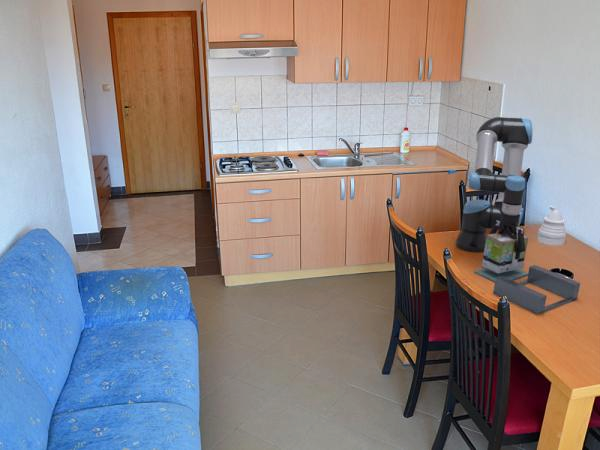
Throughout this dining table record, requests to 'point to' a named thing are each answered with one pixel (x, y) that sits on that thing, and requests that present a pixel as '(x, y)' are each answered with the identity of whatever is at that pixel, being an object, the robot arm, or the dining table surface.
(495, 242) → the tea box
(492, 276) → the mat
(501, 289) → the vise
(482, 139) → the robot arm
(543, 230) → the honey pot
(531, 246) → the dining table surface
